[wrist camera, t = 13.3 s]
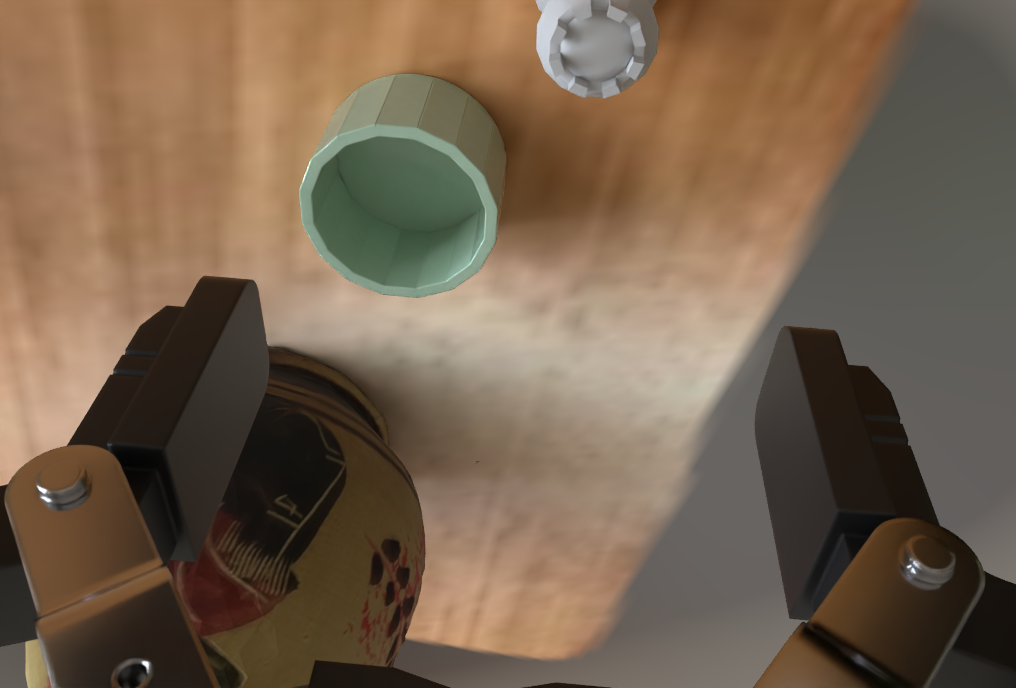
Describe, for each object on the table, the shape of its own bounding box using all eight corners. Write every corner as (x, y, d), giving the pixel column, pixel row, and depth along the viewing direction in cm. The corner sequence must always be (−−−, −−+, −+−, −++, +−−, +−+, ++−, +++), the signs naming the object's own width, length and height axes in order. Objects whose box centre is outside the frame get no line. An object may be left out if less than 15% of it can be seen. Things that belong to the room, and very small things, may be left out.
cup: (321, 65, 33) (290, 116, 29) (511, 81, 32) (502, 135, 29) (333, 228, 37) (308, 288, 34) (501, 243, 37) (492, 305, 34)
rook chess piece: (583, -148, 28) (579, -76, 21) (695, -59, 29) (722, 33, 23) (502, -25, 30) (478, 72, 24) (608, 52, 31) (611, 162, 25)
